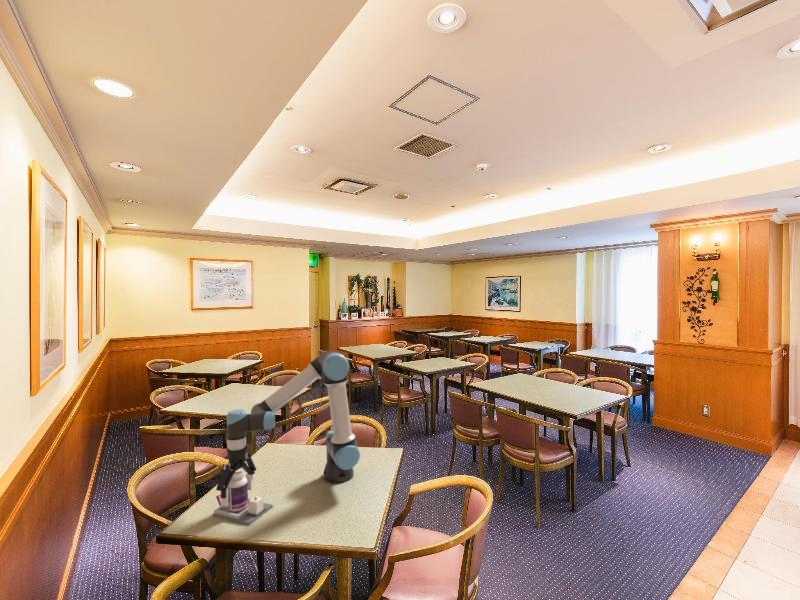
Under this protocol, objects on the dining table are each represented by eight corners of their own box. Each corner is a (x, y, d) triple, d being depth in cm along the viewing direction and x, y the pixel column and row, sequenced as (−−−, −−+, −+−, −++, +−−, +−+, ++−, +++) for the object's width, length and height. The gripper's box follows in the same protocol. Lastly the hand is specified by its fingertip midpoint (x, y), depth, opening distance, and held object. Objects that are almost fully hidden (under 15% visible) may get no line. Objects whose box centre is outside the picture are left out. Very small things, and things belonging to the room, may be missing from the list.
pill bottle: (252, 504, 167) (251, 471, 167) (238, 514, 159) (237, 479, 159) (237, 501, 170) (236, 469, 170) (223, 511, 162) (222, 477, 162)
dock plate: (272, 507, 167) (272, 490, 167) (249, 525, 154) (249, 507, 154) (238, 499, 173) (237, 483, 173) (213, 516, 160) (212, 499, 160)
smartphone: (221, 510, 164) (215, 495, 177) (221, 511, 164) (215, 497, 177) (240, 504, 169) (233, 490, 181) (240, 506, 169) (233, 492, 181)
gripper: (250, 436, 177) (251, 482, 178) (206, 457, 154) (207, 510, 154) (263, 438, 175) (264, 484, 175) (220, 460, 151) (221, 514, 152)
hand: (237, 497), depth 165 cm, fingers open, 13 cm apart
